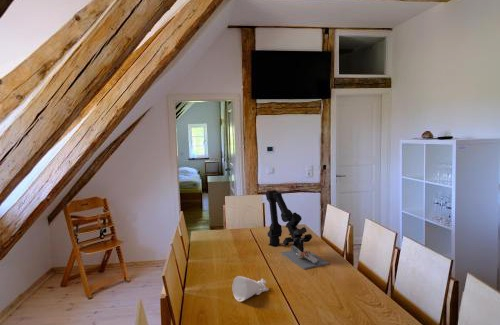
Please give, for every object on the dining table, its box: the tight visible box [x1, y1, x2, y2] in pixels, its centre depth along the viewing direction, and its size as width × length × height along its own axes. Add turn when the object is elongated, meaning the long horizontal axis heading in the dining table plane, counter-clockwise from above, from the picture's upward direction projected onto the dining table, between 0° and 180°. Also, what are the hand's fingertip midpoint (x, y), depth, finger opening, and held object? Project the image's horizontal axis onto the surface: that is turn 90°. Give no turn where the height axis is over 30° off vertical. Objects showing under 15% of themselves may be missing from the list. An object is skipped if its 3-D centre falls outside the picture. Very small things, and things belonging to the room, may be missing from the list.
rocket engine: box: [231, 275, 270, 302], centre depth 161 cm, size 12×12×18 cm
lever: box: [296, 251, 308, 257], centre depth 199 cm, size 2×3×12 cm
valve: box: [291, 245, 319, 265], centre depth 205 cm, size 26×6×5 cm, turn 23°
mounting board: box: [280, 247, 330, 270], centre depth 205 cm, size 28×18×1 cm, turn 23°
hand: (302, 252), depth 197 cm, fingers closed, pressing on lever
